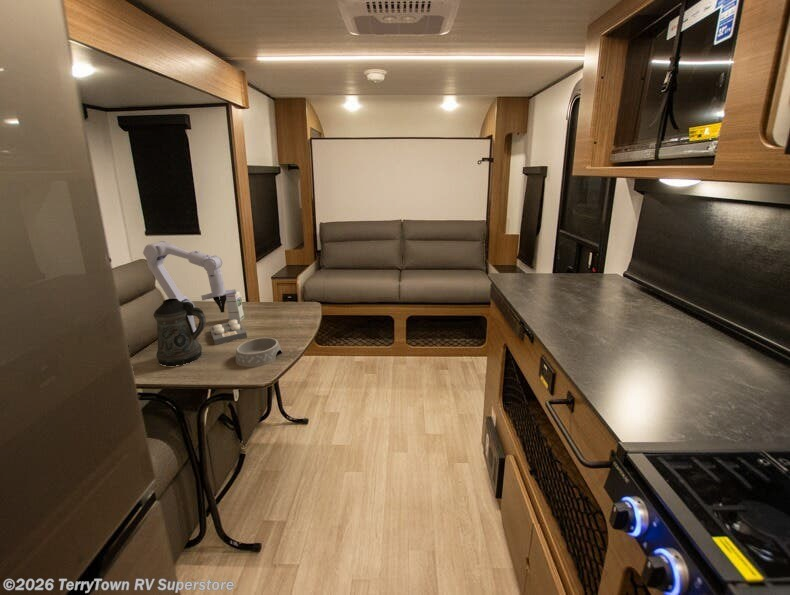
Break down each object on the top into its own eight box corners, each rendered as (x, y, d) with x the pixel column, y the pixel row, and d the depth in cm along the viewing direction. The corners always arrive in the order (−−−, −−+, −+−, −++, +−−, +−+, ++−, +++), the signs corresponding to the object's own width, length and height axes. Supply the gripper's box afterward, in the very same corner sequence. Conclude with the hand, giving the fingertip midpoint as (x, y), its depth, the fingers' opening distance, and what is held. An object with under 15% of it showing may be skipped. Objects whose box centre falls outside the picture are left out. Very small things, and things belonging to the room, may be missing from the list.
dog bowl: (227, 367, 156) (225, 354, 155) (250, 347, 174) (248, 335, 172) (269, 368, 154) (267, 355, 152) (288, 347, 171) (286, 335, 170)
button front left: (215, 337, 182) (214, 331, 181) (214, 334, 185) (213, 328, 184) (225, 334, 184) (224, 329, 183) (224, 332, 187) (223, 326, 186)
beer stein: (154, 358, 167) (139, 300, 159) (203, 344, 179) (192, 289, 171) (163, 372, 155) (147, 310, 147) (215, 355, 166) (203, 297, 159)
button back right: (230, 328, 191) (228, 323, 190) (228, 326, 194) (227, 320, 194) (238, 326, 193) (237, 321, 192) (237, 324, 196) (236, 318, 195)
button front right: (232, 333, 185) (231, 327, 184) (231, 330, 189) (229, 325, 188) (241, 331, 187) (240, 325, 186) (240, 328, 190) (239, 323, 190)
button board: (215, 344, 177) (213, 339, 176) (210, 331, 193) (209, 325, 192) (247, 337, 183) (246, 331, 183) (239, 325, 199) (238, 319, 198)
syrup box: (240, 321, 204) (235, 294, 200) (229, 322, 204) (224, 294, 200) (245, 317, 210) (240, 290, 205) (233, 318, 210) (228, 291, 205)
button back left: (214, 333, 188) (213, 328, 187) (213, 331, 191) (212, 325, 191) (223, 331, 190) (222, 326, 189) (222, 329, 193) (221, 323, 192)
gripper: (200, 288, 176) (206, 317, 180) (235, 282, 182) (240, 310, 187) (198, 285, 182) (204, 313, 186) (232, 279, 188) (237, 306, 192)
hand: (222, 311), depth 187 cm, fingers closed
